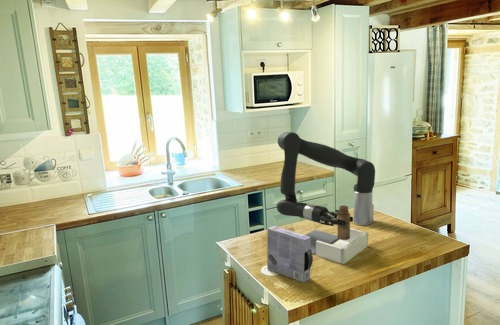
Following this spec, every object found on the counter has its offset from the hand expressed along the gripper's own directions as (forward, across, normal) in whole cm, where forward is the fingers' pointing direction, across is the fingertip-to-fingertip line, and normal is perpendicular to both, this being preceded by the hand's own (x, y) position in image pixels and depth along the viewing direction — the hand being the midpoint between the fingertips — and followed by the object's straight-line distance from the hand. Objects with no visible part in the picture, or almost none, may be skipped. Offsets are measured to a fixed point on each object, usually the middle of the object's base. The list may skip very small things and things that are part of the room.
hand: (349, 221), depth 158 cm
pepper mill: (-3, 0, +8) cm, 8 cm away
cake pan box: (-10, -30, +15) cm, 35 cm away
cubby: (-4, 0, +15) cm, 15 cm away
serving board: (-18, 0, +15) cm, 23 cm away
